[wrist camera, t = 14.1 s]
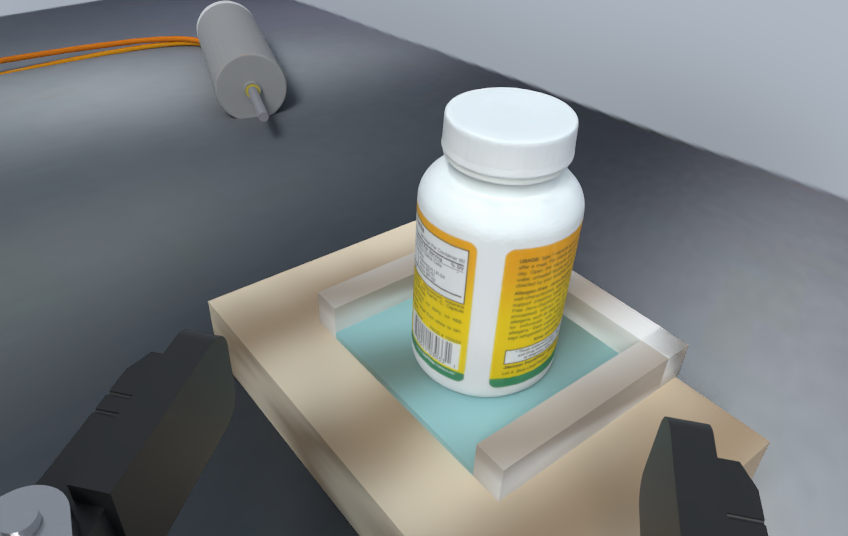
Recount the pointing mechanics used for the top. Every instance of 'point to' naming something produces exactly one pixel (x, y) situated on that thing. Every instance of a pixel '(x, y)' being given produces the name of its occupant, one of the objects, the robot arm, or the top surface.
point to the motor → (212, 59)
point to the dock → (459, 404)
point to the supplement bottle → (496, 241)
